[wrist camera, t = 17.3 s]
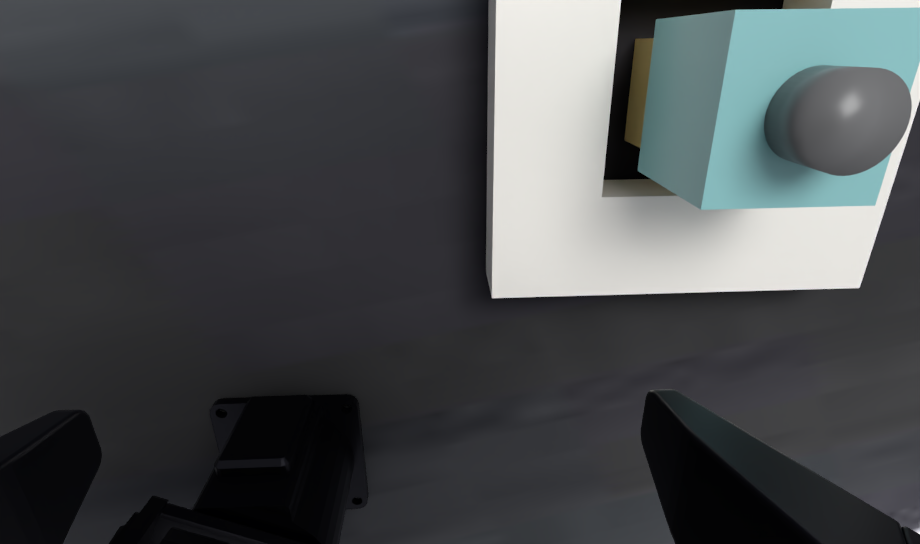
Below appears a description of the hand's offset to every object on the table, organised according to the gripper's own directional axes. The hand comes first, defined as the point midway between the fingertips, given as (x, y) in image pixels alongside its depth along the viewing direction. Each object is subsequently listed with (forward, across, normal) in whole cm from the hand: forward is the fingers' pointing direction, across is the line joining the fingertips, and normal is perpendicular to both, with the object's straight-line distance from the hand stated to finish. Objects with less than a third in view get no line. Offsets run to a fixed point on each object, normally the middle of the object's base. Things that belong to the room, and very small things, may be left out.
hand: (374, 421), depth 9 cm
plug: (+13, -10, -4) cm, 17 cm away
